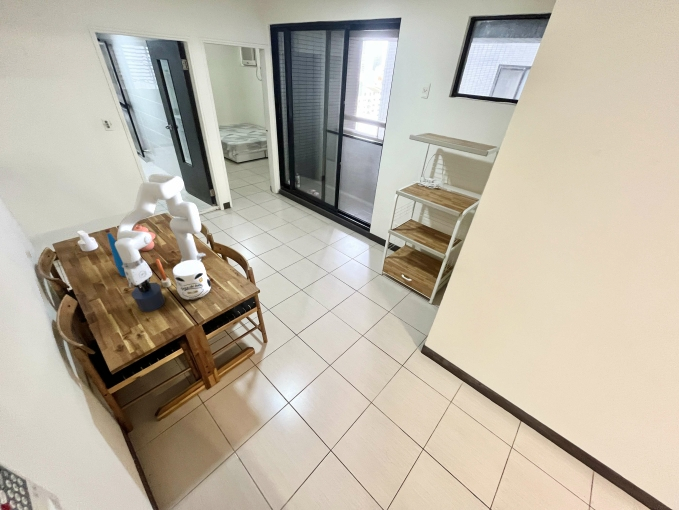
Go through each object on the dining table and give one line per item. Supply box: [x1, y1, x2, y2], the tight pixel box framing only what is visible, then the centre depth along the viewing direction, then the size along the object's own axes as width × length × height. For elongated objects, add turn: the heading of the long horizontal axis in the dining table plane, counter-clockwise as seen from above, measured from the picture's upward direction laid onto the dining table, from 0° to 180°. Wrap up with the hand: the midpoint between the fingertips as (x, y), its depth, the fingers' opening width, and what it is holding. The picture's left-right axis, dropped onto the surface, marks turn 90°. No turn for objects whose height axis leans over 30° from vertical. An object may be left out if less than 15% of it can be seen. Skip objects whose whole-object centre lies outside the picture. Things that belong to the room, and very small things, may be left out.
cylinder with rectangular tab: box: [76, 229, 99, 252], centre depth 186 cm, size 9×9×12 cm
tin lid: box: [131, 282, 162, 300], centre depth 143 cm, size 13×13×6 cm
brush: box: [155, 258, 172, 289], centre depth 157 cm, size 4×4×19 cm
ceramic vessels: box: [132, 224, 156, 252], centre depth 194 cm, size 35×21×19 cm, turn 46°
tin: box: [134, 288, 166, 313], centre depth 147 cm, size 12×12×9 cm
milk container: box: [172, 260, 212, 301], centre depth 154 cm, size 17×17×18 cm
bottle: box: [104, 228, 126, 277], centre depth 162 cm, size 7×7×30 cm
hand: (145, 289), depth 144 cm, fingers closed on tin lid, 2 cm apart
